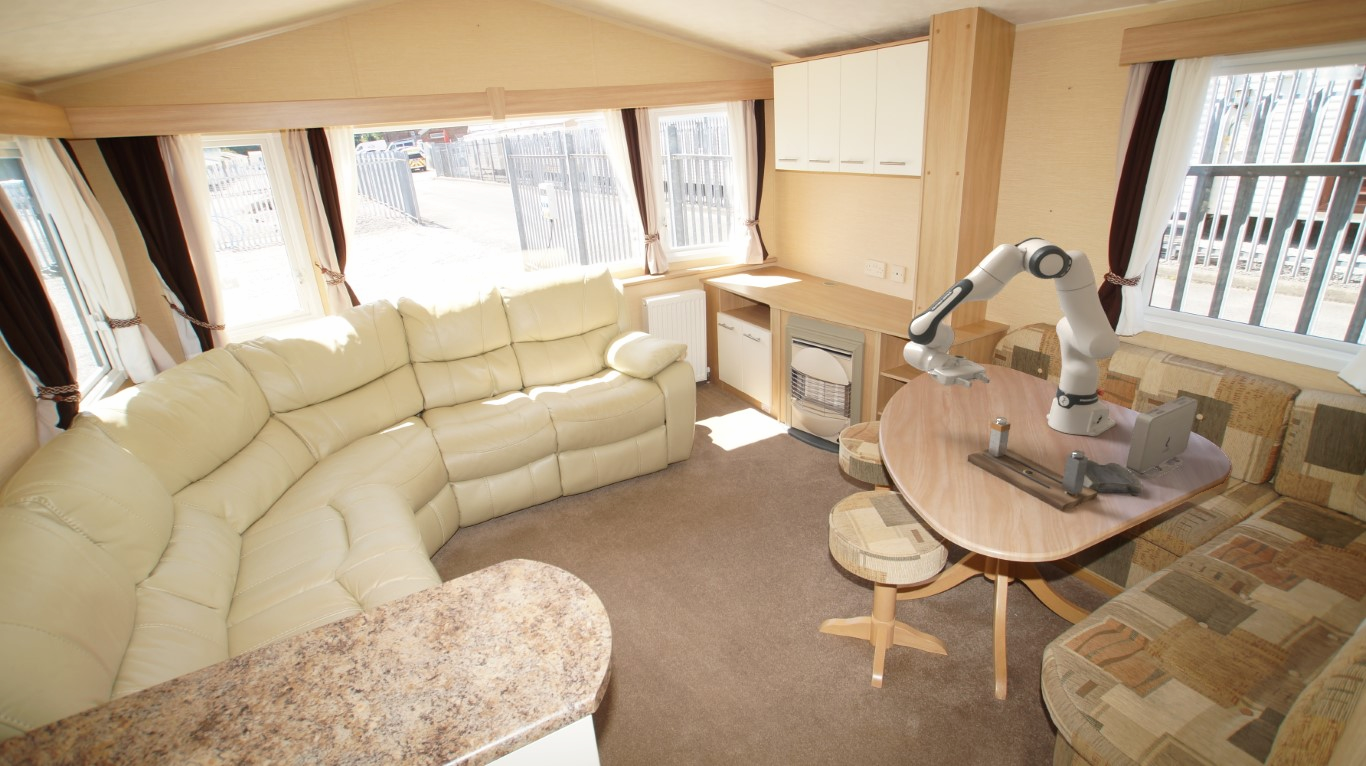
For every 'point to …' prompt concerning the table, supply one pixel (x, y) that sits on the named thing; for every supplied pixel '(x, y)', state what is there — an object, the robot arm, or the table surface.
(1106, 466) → the fossil
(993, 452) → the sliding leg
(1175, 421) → the network device
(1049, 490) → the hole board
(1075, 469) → the fixed leg
